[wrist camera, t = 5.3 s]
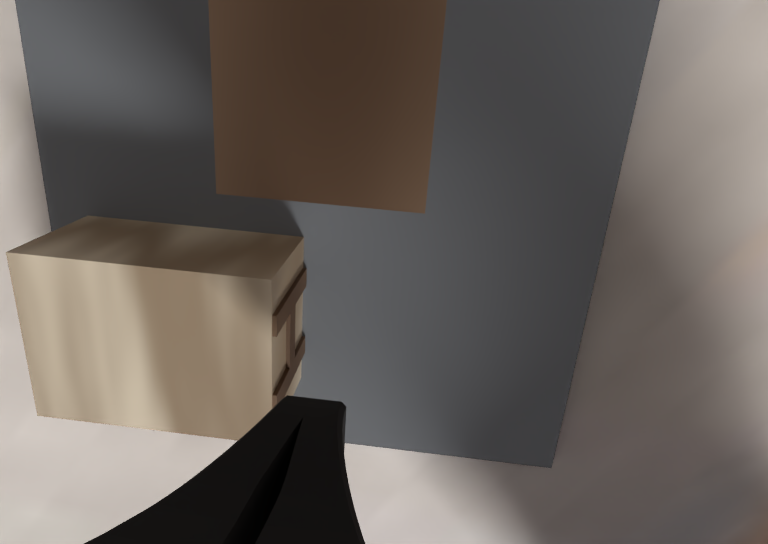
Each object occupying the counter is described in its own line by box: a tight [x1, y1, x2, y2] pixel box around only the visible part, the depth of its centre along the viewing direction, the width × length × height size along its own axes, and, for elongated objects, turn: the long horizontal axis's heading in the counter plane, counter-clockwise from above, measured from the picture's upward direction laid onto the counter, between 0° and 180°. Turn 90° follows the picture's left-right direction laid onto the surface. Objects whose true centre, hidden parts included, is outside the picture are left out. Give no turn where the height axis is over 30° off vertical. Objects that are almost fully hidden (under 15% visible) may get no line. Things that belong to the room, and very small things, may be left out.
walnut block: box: [208, 0, 447, 214], centre depth 11 cm, size 4×5×7 cm
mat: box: [15, 0, 660, 468], centre depth 17 cm, size 17×16×1 cm
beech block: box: [6, 216, 307, 440], centre depth 16 cm, size 4×5×7 cm
